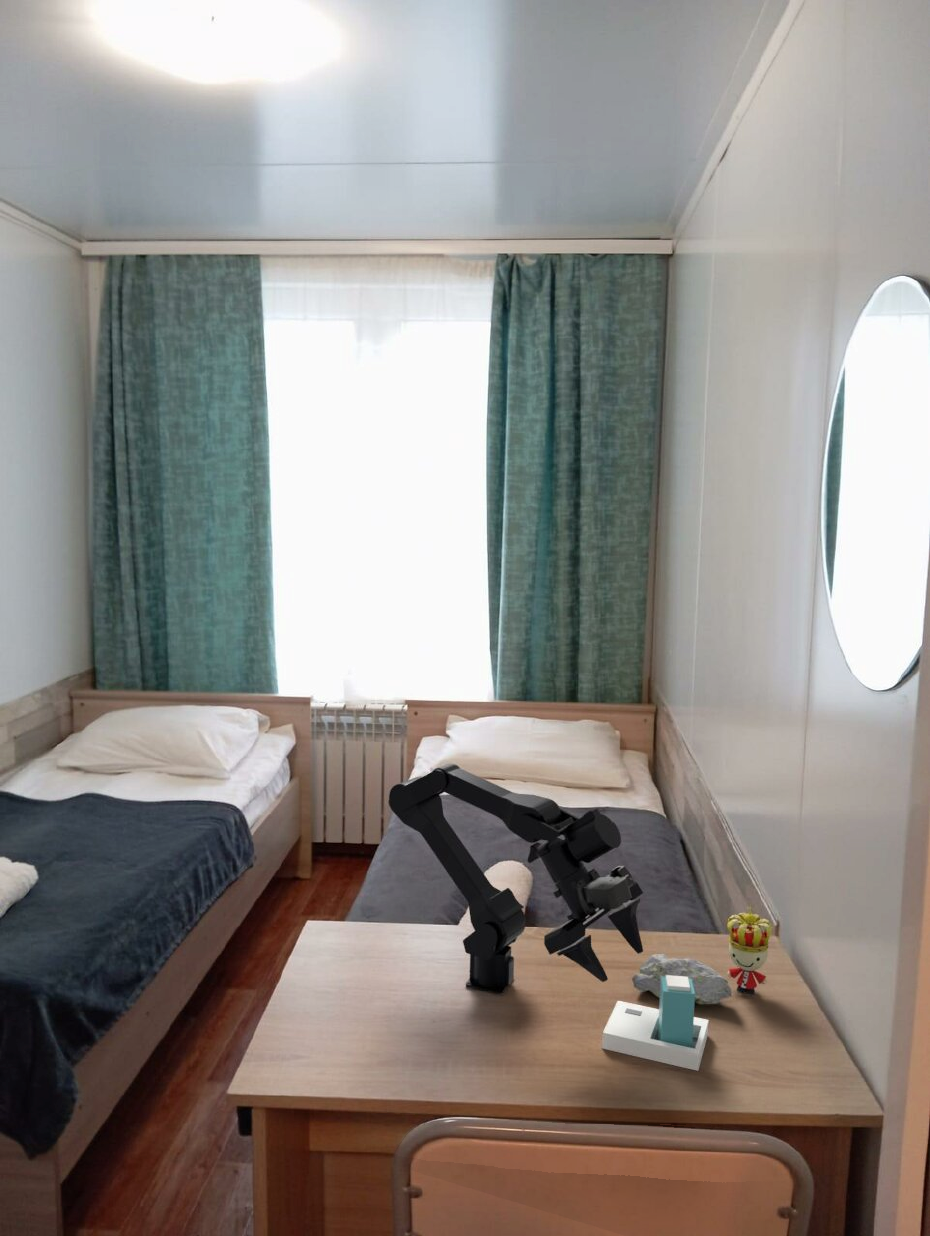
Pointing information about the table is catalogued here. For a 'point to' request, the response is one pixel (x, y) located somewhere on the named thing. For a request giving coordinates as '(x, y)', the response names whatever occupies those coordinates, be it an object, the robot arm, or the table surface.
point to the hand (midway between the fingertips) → (623, 966)
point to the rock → (703, 977)
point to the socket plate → (651, 1037)
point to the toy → (748, 949)
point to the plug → (676, 1010)
